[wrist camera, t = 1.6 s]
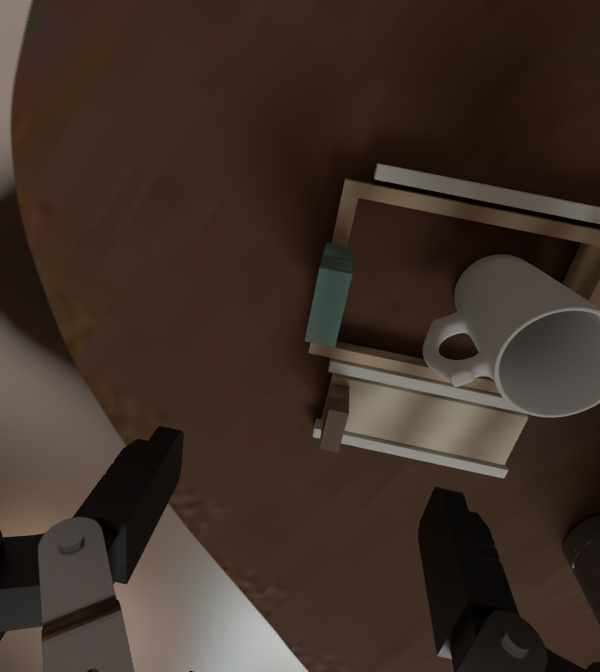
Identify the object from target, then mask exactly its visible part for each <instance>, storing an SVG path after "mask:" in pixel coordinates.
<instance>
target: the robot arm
mask: <svg viewBox="0 0 600 672" xmlns="http://www.w3.org/2000/svg"><path fill="white" fill-rule="evenodd" d="M183 437H184V434H183V431H181V430H176V429H172V428H167V427H162V426H159V427H158V428H157V429H156V430H155V432H154V433H153V435H152V436H151V438H150V439H149V441H146V440H141V439H137V440H135V441H134V442H132V443H131V444H129V445H128V446H126V447H125V448H123V450H122V451H121V452H120V454H119V455H118V456H117V458H116V459H115V460H114V463H113V464H112V465H111V466H110V467H109V469H108V470H107V472H106V474H105V475H103V477H102V478H101V480H100V481H99V482H98V484H97V485H96V486H95V488H94V489H93V490H92V492H91V493H90V494H89V496H88V497H87V499H86V500H85V501H84V503H83V504H82V505H81V507H80V508H79V509H78V511H77V512H76V514H75V515H74V516H73V517H72V518H69V519H66V520H63V521H61V522H59V523H57V524H56V525H54V526H52V527H51V528H50V529H49V530H48V531H47V532H46V533H43V534H39V535H31V536H17V537H4V538H3V537H2V533H1V531H0V640H1V639H2V637H3V636H4V634H5V632H6V631H10V630H18V629H26V628H33V627H41V626H42V627H43V629H42V655H43V672H134V668H133V663H132V658H131V653H130V649H129V644H128V639H127V634H126V630H125V625H124V620H123V615H122V611H121V607H120V603H119V601H118V600H117V599H116V596H115V591H114V586H113V584H114V582H118V583H123V584H127V583H128V581H129V579H130V577H131V575H132V573H133V571H134V569H135V567H136V565H137V563H138V561H139V559H140V557H141V555H142V553H143V551H144V549H145V547H146V545H147V543H148V541H149V539H150V537H151V535H152V533H153V531H154V529H155V527H156V525H157V523H158V521H159V519H160V517H161V516H162V514H163V511H164V509H165V508H166V506H167V504H168V502H169V500H170V498H171V496H172V494H173V492H174V490H175V488H176V485H177V483H178V480H179V477H180V473H181V467H182V452H183ZM418 541H419V548H420V554H421V560H422V566H423V572H424V578H425V584H426V590H427V596H428V602H429V609H430V615H431V621H432V627H433V633H434V639H435V645H436V651H437V656H440V657H445V658H449V659H452V662H453V667H454V672H600V662H595V663H592V664H591V665H589V667H588V668H587V669H586V670H585V669H583V668H581V667H579V666H577V665H575V664H574V663H572V662H570V661H568V660H566V659H564V658H562V657H561V656H559V655H557V654H555V653H553V652H552V651H550V650H549V649H547V648H546V647H545V645H544V643H543V641H542V639H541V637H540V636H539V634H538V633H537V632H536V630H535V629H534V628H533V627H532V626H531V625H530V624H529V623H528V622H527V621H526V620H524V619H523V618H521V617H520V615H519V613H518V610H517V607H516V604H515V601H514V598H513V595H512V593H511V590H510V587H509V584H508V581H507V578H506V575H505V573H504V570H503V567H502V564H501V562H500V561H499V560H500V558H499V555H498V553H497V550H496V549H495V544H494V541H493V538H492V535H491V532H490V530H489V528H488V527H487V525H486V524H485V523H484V521H483V520H482V519H481V517H480V516H479V515H478V513H475V512H470V511H469V510H468V507H467V504H466V501H465V497H464V495H463V493H462V492H460V491H456V490H451V489H446V488H442V487H435V488H434V490H433V492H432V495H431V497H430V499H429V502H428V504H427V506H426V508H425V511H424V513H423V515H422V518H421V520H420V524H419V530H418ZM563 549H564V555H565V557H566V559H567V561H568V563H569V565H570V567H571V569H572V571H573V573H574V575H575V577H576V579H577V581H578V583H579V585H580V587H581V589H582V591H583V593H584V595H585V597H586V599H587V601H588V603H589V605H590V607H591V609H592V611H593V613H594V615H595V617H596V619H597V621H598V623H599V625H600V515H597V516H594V517H592V518H589V519H587V520H585V521H583V522H581V523H580V524H579V525H577V526H576V527H575V528H573V529H572V531H571V532H570V533H569V534H568V536H567V538H566V540H565V542H564V547H563ZM190 672H192V671H190Z"/></svg>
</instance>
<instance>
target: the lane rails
mask: <svg viewBox="0 0 600 672" xmlns="http://www.w3.org/2000/svg"><path fill="white" fill-rule="evenodd" d="M373 178H374V179H375V180H380V181H385V182H390V183H396V184H401V185H406V186H411V187H416V188H421V189H426V190H431V191H436V192H441V193H446V194H451V195H456V196H461V197H466V198H471V199H476V200H481V201H486V202H491V203H496V204H501V205H506V206H511V207H516V208H521V209H526V210H531V211H536V212H541V213H546V214H551V215H556V216H561V217H567V218H572V219H577V220H582V221H587V222H592V223H597V224H600V207H598V206H593V205H588V204H582V203H577V202H572V201H567V200H562V199H557V198H552V197H547V196H542V195H537V194H532V193H527V192H522V191H517V190H512V189H507V188H502V187H496V186H491V185H486V184H481V183H476V182H471V181H466V180H461V179H456V178H451V177H446V176H441V175H436V174H431V173H426V172H421V171H416V170H410V169H405V168H400V167H395V166H390V165H385V164H380V163H377V165H376V169H375V173H374V177H373ZM328 372H333V373H337V374H342V375H347V376H352V377H356V378H361V379H366V380H370V381H375V382H380V383H384V384H389V385H394V386H399V387H403V388H408V389H413V390H417V391H422V392H427V393H432V394H436V395H441V396H446V397H450V398H455V399H460V400H465V401H469V402H474V403H479V404H483V405H488V406H493V407H497V408H502V409H507V410H512V411H516V412H521V413H524V412H522V411H520V410H518V409H516V408H514V407H513V406H512V405H510V404H509V403H508V402H507V401H506V400H505V399H504V398H503V397H502V395H501V394H499V393H494V392H490V391H485V390H480V389H476V388H471V387H466V386H458V387H454V386H453V385H452V383H447V382H442V381H438V380H433V379H428V378H423V377H419V376H414V375H409V374H405V373H400V372H395V371H390V370H386V369H381V368H376V367H371V366H367V365H362V364H357V363H353V362H348V361H343V360H338V359H334V358H330V362H329V371H328ZM526 414H527V413H526ZM321 421H322V419H318V418H316V421H315V425H314V431H313V437H315V438H320V437H321V428H322V426H321ZM341 443H343V444H347V445H352V446H357V447H361V448H366V449H370V450H375V451H380V452H384V453H389V454H393V455H398V456H403V457H407V458H412V459H416V460H421V461H426V462H430V463H435V464H440V465H444V466H449V467H453V468H458V469H463V470H467V471H472V472H476V473H481V474H486V475H490V476H495V477H499V478H505V476H506V474H507V472H508V469H507V466H506V464H505V465H501V464H496V463H492V462H487V461H483V460H478V459H473V458H469V457H464V456H459V455H455V454H450V453H446V452H441V451H436V450H432V449H427V448H422V447H418V446H413V445H409V444H404V443H399V442H395V441H390V440H385V439H381V438H376V437H371V436H367V435H362V434H358V433H353V432H348V431H344V434H343V437H342V441H341Z"/></svg>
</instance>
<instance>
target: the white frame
mask: <svg viewBox="0 0 600 672" xmlns="http://www.w3.org/2000/svg"><path fill="white" fill-rule="evenodd" d="M358 198H362V199H367V200H372V201H377V202H382V203H387V204H392V205H397V206H402V207H407V208H412V209H417V210H422V211H427V212H432V213H437V214H442V215H447V216H452V217H457V218H462V219H467V220H471V221H476V222H481V223H486V224H491V225H496V226H501V227H506V228H511V229H516V230H521V231H526V232H531V233H536V234H541V235H546V236H551V237H556V238H561V239H566V240H571V241H576V242H581V244H580V246H579V248H578V250H577V252H576V255H575V257H574V259H573V261H572V263H571V265H570V267H569V269H568V272H567V274H566V276H565V278H564V280H563V282H562V284H563V285H564V286H566V287H567V288H569V289H571V290H572V291H574V292H575V293H577V294H579V295H580V296H582V297H583V298H585V299H586V300H588V301H590V302H591V303H593V304H594V305H596V306H597V307H599V308H600V229H598V228H593V227H588V226H583V225H578V224H573V223H568V222H563V221H558V220H553V219H548V218H543V217H538V216H533V215H528V214H523V213H518V212H513V211H508V210H503V209H498V208H493V207H488V206H483V205H478V204H473V203H468V202H463V201H458V200H453V199H448V198H443V197H438V196H433V195H427V194H422V193H417V192H412V191H407V190H402V189H397V188H392V187H387V186H382V185H377V184H372V183H367V182H362V181H357V180H352V179H347V178H345V182H344V187H343V191H342V196H341V201H340V206H339V210H338V215H337V220H336V225H335V229H334V234H333V239H332V243H330V242H326V245H325V249H324V253H323V257H322V260H321V264H320V268H319V273H318V278H317V283H316V288H315V293H314V298H313V303H312V308H311V313H310V317H309V322H308V327H307V332H306V337H305V341H306V342H311V343H310V348H309V353H310V354H315V355H319V356H324V357H329V358H334V359H338V360H343V361H348V362H353V363H357V364H362V365H367V366H371V367H376V368H381V369H386V370H390V371H395V372H400V373H405V374H409V375H414V376H419V377H423V378H428V379H433V380H438V381H442V382H447V383H451V382H450V381H449V380H447V379H445V378H444V377H442V376H440V375H439V374H437V373H436V372H434V371H433V370H432V369H431V368H430V367H429V366H428V365H427V364H426V362H425V360H424V359H420V358H416V357H411V356H406V355H401V354H397V353H392V352H387V351H382V350H378V349H373V348H368V347H363V346H359V345H354V344H349V343H344V342H340V341H337V337H338V333H339V329H340V324H341V320H342V316H343V312H344V308H345V304H346V299H347V295H348V291H349V287H350V283H351V279H352V274H353V247H350V246H348V241H349V237H350V233H351V228H352V224H353V220H354V215H355V211H356V206H357V202H358ZM461 386H466V387H471V388H476V389H480V390H485V391H490V392H494V393H499V394H500V392H499V391H498V389H497V386H496V384H495V382H494V381H493V379H491V378H490V377H487V376H480V377H476V378H474V380H473V381H472V382H470V383H467V384H464V385H461Z"/></svg>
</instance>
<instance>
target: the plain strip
mask: <svg viewBox="0 0 600 672" xmlns="http://www.w3.org/2000/svg"><path fill="white" fill-rule="evenodd" d="M527 420H528V416H527V414H526V413H521V412H516V411H512V410H507V409H502V408H497V407H493V406H488V405H483V404H479V403H474V402H469V401H465V400H460V399H455V398H450V397H446V396H441V395H436V394H432V393H427V392H422V391H417V390H413V389H408V388H403V387H399V386H394V385H389V384H384V383H380V382H375V381H370V380H366V379H361V378H356V377H352V376H347V375H342V374H337V373H333V374H332V379H331V383H330V387H329V391H328V395H327V399H326V403H325V407H324V411H323V415H322V421H321V426H322V428H321V437H320V447H319V448H320V449H324V450H329V451H333V452H339V448H340V444H341V441H342V437H343V434H344V431H348V432H353V433H358V434H362V435H367V436H371V437H376V438H381V439H385V440H390V441H395V442H399V443H404V444H409V445H413V446H418V447H422V448H427V449H432V450H436V451H441V452H446V453H450V454H455V455H459V456H464V457H469V458H473V459H478V460H483V461H487V462H492V463H496V464H501V465H505V463H506V461H507V459H508V457H509V455H510V453H511V451H512V449H513V447H514V445H515V443H516V441H517V439H518V437H519V435H520V433H521V431H522V429H523V427H524V425H525V424H526V422H527Z"/></svg>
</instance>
